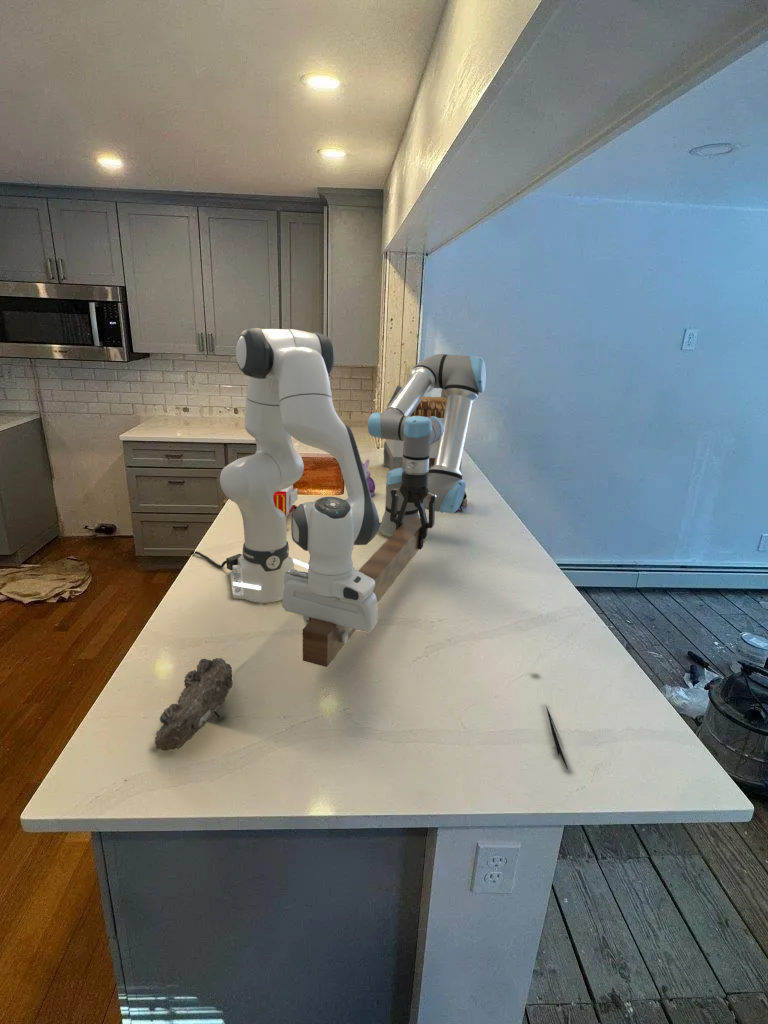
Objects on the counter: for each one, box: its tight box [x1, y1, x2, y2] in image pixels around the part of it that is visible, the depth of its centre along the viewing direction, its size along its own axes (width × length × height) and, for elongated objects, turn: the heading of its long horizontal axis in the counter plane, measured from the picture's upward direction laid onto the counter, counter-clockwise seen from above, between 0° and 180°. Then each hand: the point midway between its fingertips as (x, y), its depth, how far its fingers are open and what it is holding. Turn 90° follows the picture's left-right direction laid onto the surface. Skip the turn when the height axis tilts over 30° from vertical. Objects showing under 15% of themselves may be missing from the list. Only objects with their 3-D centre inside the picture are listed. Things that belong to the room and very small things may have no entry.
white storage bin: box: [383, 384, 463, 472], centre depth 268 cm, size 34×33×41 cm
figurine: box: [361, 459, 376, 497], centre depth 237 cm, size 9×10×15 cm
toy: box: [273, 484, 299, 518], centre depth 210 cm, size 12×13×30 cm
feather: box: [535, 673, 569, 770], centre depth 112 cm, size 2×28×2 cm
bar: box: [302, 517, 426, 668], centre depth 143 cm, size 69×6×7 cm, turn 160°
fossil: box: [154, 657, 234, 752], centre depth 107 cm, size 22×10×15 cm
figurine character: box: [458, 491, 468, 512], centre depth 228 cm, size 7×8×15 cm
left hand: (328, 637), depth 118 cm, fingers closed on bar, 5 cm apart
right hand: (410, 545), depth 169 cm, fingers closed on bar, 6 cm apart
